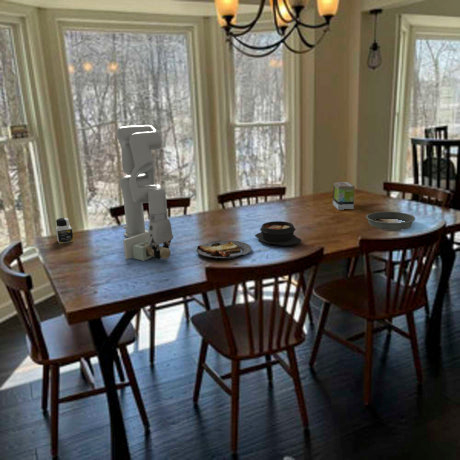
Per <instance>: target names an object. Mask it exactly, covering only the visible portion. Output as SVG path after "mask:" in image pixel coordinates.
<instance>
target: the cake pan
mask: <svg viewBox="0 0 460 460" xmlns="http://www.w3.org/2000/svg"><path fill="white" fill-rule="evenodd" d="M365 219H367V222H368V225H369V224H370V225H371V226H370V225H369V226H370V227H372V226H374V227H377V228H376V229H378V228H382V229H381V230H384V229H390V230H389V231H402V230H401V229H404V230H408V229H410V228H411V227H412V225H413V222H414V221H415V220H416V217H415V216H414V215H411V214H409V213H406V212H401V211H375V212H371V213H368V214H366V216H365ZM375 219H398V220H402V221H405V222H401V223H388V222H383V221H380V220H375ZM374 220H375V221H374ZM374 227H373V228H374Z"/></svg>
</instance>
